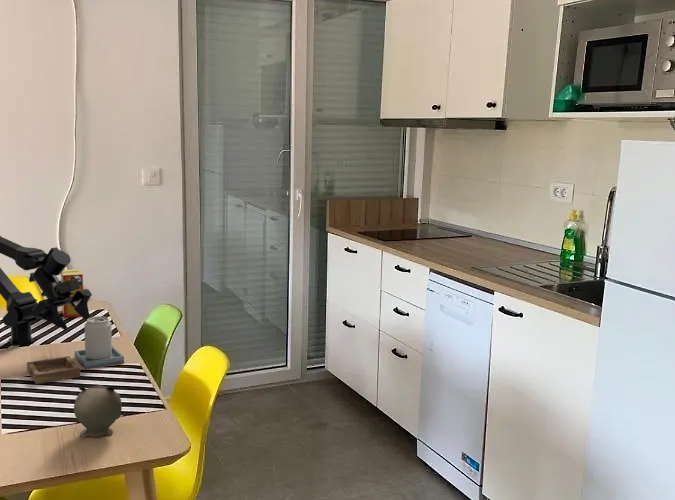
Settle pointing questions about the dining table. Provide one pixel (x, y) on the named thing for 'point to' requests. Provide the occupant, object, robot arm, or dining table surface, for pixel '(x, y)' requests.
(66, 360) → the holder collar
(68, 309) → the baking soda box
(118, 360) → the tray
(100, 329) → the can
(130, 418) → the dining table surface
